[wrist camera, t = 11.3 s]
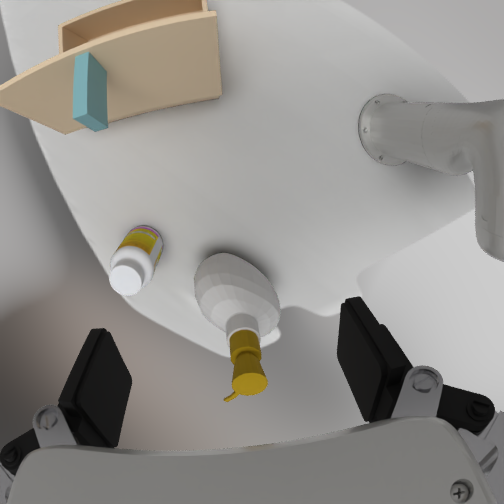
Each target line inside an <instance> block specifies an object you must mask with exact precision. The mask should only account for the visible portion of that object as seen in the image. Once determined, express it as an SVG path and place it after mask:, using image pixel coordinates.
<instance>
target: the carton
mask: <svg viewBox="0 0 504 504" xmlns="http://www.w3.org/2000/svg"><path fill="white" fill-rule="evenodd" d="M207 11H208V7H207V0H122V1H119V2H115V3H112V4H109V5H107V6H104V7H101V8H98V9H95V10H93V11H90V12H88V13H85V14H83V15H80V16H78V17H75V18H73V19H71V20H68V21H66V22H64V23H62V24H60V25H58V34H59V54H61V53H63V52H65V51H68V50H70V49H73V48H75V47H77V46H80V45H82V44H85V43H87V42H90V41H93V40H95V39H98V38H101V37H104V36H107V35H110V34H113V33H116V32H119V31H122V30H126V29H129V28H132V27H136V26H139V25H143V24H147V23H151V22H155V21H159V20H163V19H168V18H173V17H178V16H183V15H188V14H194V13H200V12H207ZM218 98H219V96H213V97H207V98H201V99H195V100H190V101H185V102H180V103H175V104H170V105H165V106H161V107H157V108H152V109H148V110H144V111H140V112H136V113H132V114H129V115H125V116H122V117H118V118H115V119H111V120H108V123H110V122H114V121H117V120H121V119H124V118H128V117H132V116H136V115H139V114H143V113H147V112H152V111H156V110H160V109H165V108H169V107H174V106H179V105H184V104H189V103H195V102H200V101H206V100H212V99H218ZM86 128H88V127H86Z"/></svg>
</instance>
